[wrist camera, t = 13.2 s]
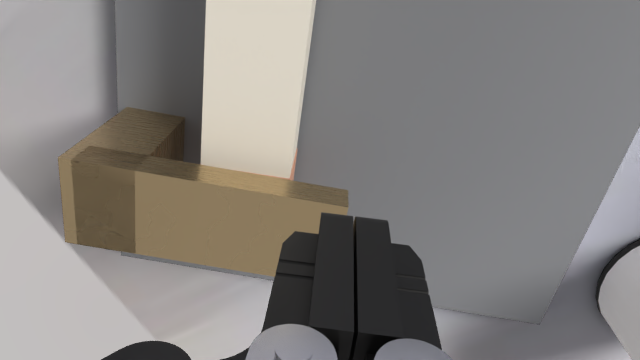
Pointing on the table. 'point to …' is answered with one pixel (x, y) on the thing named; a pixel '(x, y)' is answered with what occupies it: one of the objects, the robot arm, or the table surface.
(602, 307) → the mug
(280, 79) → the latch bar
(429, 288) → the base plate
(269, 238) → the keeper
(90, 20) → the table surface
